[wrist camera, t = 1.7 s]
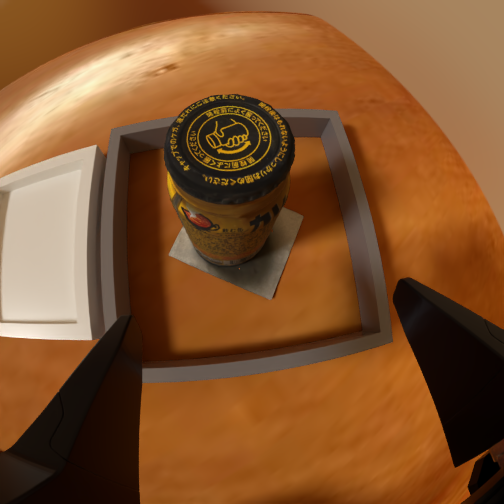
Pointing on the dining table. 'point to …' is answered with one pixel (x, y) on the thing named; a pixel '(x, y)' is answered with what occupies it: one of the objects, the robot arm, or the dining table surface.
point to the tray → (53, 248)
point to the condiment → (232, 190)
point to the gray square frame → (357, 232)
